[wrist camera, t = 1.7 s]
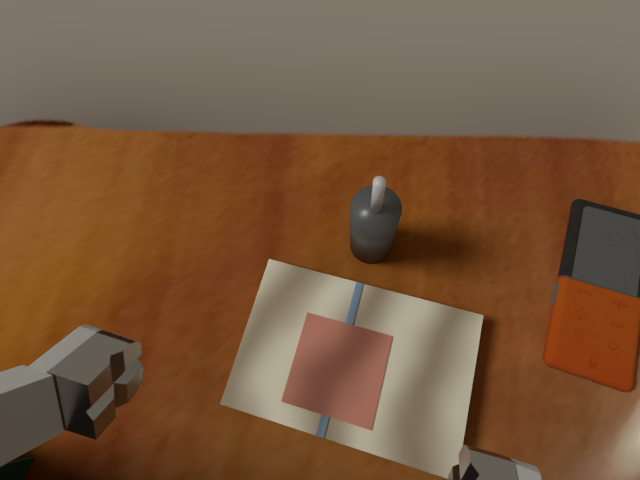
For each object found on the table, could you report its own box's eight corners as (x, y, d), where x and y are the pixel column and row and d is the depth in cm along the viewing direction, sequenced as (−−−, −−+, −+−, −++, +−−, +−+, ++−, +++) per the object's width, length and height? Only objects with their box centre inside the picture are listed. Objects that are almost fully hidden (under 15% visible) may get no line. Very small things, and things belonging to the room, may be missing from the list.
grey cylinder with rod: (395, 230, 36) (415, 162, 25) (385, 268, 35) (402, 215, 23) (355, 221, 36) (358, 150, 25) (345, 257, 35) (343, 201, 24)
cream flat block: (477, 318, 33) (484, 315, 31) (451, 476, 29) (457, 482, 28) (272, 263, 36) (268, 258, 34) (225, 402, 32) (219, 404, 31)
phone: (545, 363, 31) (576, 194, 35) (537, 364, 32) (568, 201, 36) (636, 394, 30) (657, 216, 34) (625, 394, 31) (646, 221, 35)
